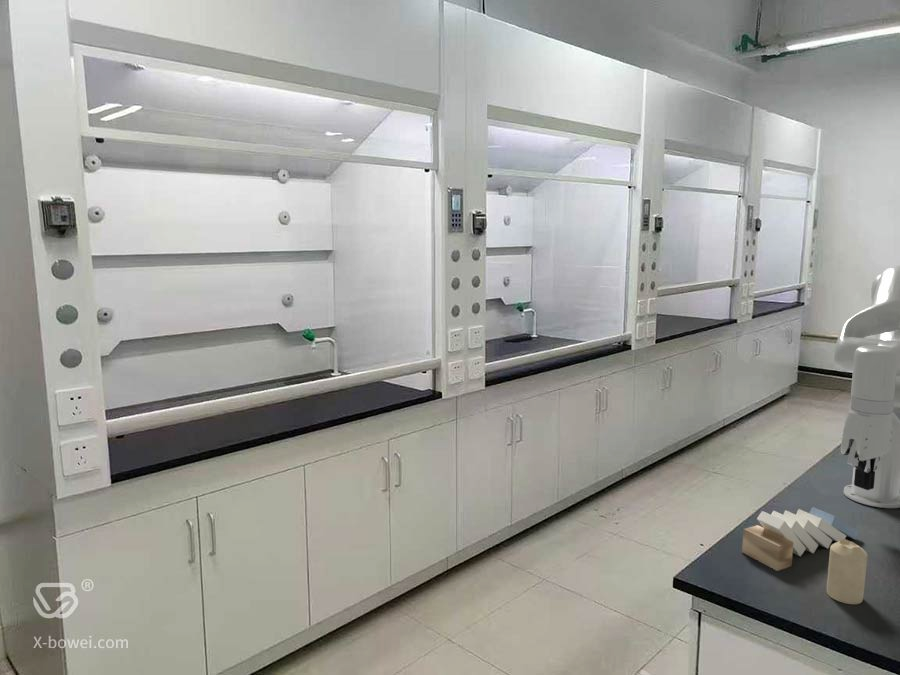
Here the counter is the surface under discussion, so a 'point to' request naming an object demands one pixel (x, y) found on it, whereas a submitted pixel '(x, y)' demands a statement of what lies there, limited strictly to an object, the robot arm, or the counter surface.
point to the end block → (767, 547)
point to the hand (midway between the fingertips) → (863, 487)
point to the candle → (846, 572)
